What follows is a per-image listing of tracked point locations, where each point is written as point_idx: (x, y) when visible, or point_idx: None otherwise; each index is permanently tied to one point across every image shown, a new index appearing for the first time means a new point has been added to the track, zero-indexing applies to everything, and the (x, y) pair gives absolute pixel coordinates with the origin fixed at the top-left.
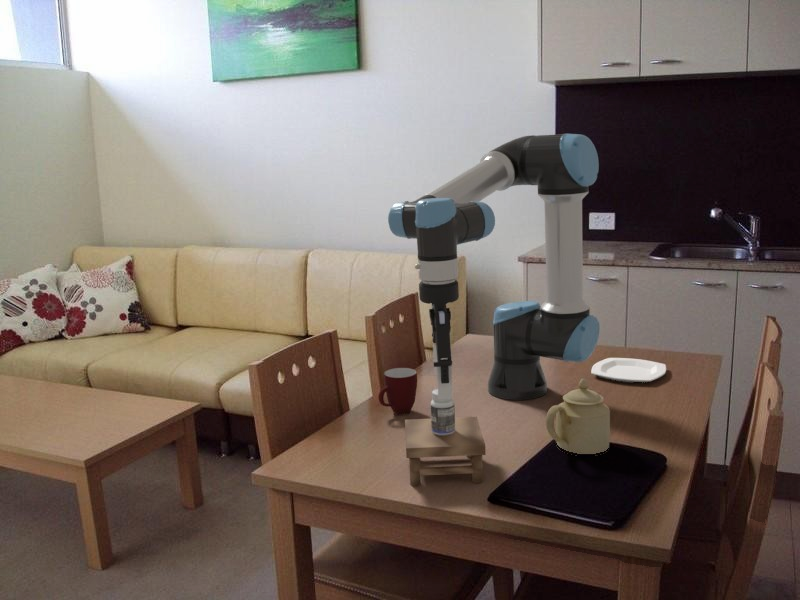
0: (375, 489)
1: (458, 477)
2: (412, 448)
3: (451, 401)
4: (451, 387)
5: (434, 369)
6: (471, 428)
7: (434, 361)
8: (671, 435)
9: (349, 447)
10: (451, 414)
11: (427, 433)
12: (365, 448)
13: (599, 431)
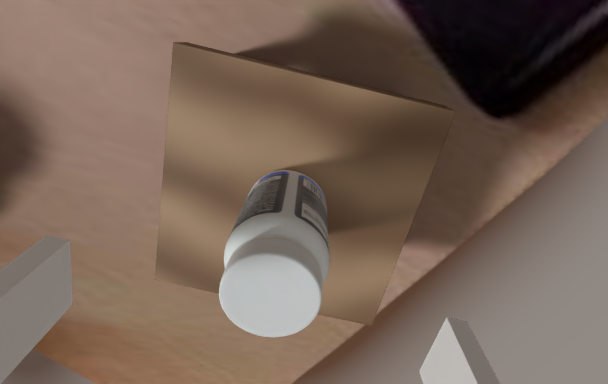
0: None
1: None
2: (376, 311)
3: (300, 239)
4: (492, 378)
5: (45, 332)
6: (290, 107)
7: (2, 378)
8: None
9: (124, 316)
10: (321, 220)
11: None
12: (135, 291)
13: None
